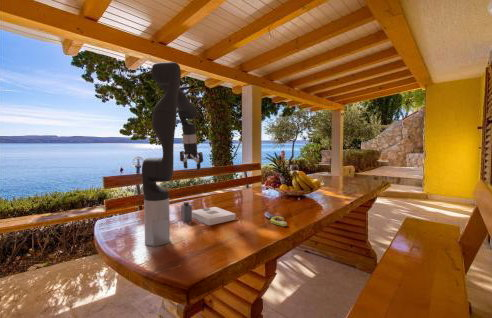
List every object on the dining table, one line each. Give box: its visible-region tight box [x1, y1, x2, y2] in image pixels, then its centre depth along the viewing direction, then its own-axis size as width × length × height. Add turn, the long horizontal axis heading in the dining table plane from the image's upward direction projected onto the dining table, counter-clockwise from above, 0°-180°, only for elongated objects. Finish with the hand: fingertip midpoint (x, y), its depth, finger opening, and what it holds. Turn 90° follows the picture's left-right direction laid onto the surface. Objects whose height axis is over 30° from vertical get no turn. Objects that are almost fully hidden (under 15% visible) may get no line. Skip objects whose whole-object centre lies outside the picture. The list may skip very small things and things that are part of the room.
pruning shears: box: [264, 211, 288, 227], centre depth 124 cm, size 8×3×25 cm
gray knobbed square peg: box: [180, 201, 193, 223], centre depth 121 cm, size 4×4×10 cm
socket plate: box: [192, 206, 236, 226], centre depth 127 cm, size 20×16×4 cm
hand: (192, 168), depth 139 cm, fingers open, 8 cm apart
